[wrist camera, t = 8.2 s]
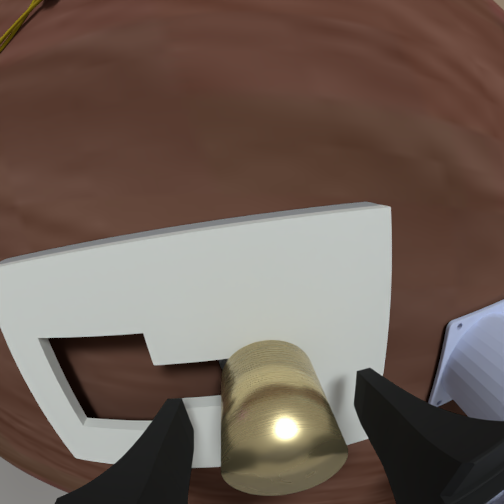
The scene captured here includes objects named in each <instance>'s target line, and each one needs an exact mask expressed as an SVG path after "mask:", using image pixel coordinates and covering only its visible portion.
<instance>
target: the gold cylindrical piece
mask: <svg viewBox="0 0 504 504" xmlns="http://www.w3.org/2000/svg"><path fill="white" fill-rule="evenodd" d="M219 364H220V366H221V368H222V370H223V371H222V378H221V474H222V477H223V479H224V480H225V481H226V482H227V483H228V484H229V485H230V486H232V487H233V488H235V489H237V490H240V491H242V492H246V493H249V494H254V495H265V496H275V495H285V494H291V493H296V492H300V491H303V490H306V489H309V488H312V487H314V486H316V485H318V484H320V483H322V482H324V481H326V480H327V479H329V478H330V477H332V476H333V475H334V474H335V473H336V472H337V471H339V469H340V468H341V467H342V466H343V464H344V463H345V461H346V459H347V456H348V448H347V445H346V443H345V440H344V438H343V435H342V433H341V431H340V428H339V426H338V424H337V421H336V419H335V417H334V414H333V412H332V410H331V407H330V405H329V403H328V400H327V398H326V396H325V393H324V391H323V389H322V386H321V384H320V382H319V379H318V377H317V375H316V372H315V370H314V368H313V365H312V363H311V361H310V359H309V357H308V356H307V354H306V353H305V352H304V351H303V350H302V349H300V348H299V347H298V346H296V345H294V344H291V343H289V342H285V341H280V340H264V341H259V342H254V343H252V344H249V345H247V346H244V347H242V348H241V349H239V350H238V351H236V352H235V353H234V354H233V355H232V356H231V357H230V358H229V359H220V360H219Z"/></svg>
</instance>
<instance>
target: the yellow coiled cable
mask: <svg viewBox="0 0 504 504" xmlns="http://www.w3.org/2000/svg"><path fill="white" fill-rule="evenodd" d="M41 1H42V0H33V1H32V3H31V5H30V6H29V8H28V9H27V10H26V11H25V12H24V13H23V14H22V15H21V17H20V18H19V19H18V20H17V21H16V22H15V23H14V24H13V25H12V26H11V27H10V28H9V30H8V31H7V32H6V33H5V34H4V35H3V36H2V37H1V38H0V44H1V43H2V42H3V41H4V40H5V39H6V37H7V36H8V35H9V34H10V33H11V32H12V33H11V34H10V35H9V37H8V38H7V39H6V41H5V42H4V43H3V45H2V46H1V47H0V52H1V51H2V50H3V49H4V48H5V46H6V45H7V44H8V43H9V41H10V40H11V39H12V37H13V36H14V35H15V33H16V32H17V30H18V29H19V28H20V26H21V25H22V23H23V22H24V20H25V19H26V17H27V16H28V14H29V13H30V12H31V11H32V10H33V9H34V8H35V7H36V6H37V5H38V4H39V3H40V2H41Z"/></svg>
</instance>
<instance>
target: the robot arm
mask: <svg viewBox="0 0 504 504" xmlns="http://www.w3.org/2000/svg"><path fill="white" fill-rule="evenodd" d="M451 400H454V401H455V402H456V403H457V404H458V406H459V407H460V408H461V409H462V410H463V411H464V412H465V414H466V415H467V416H468V417H467V416H463V415H459V414H456V413H452V412H449V411H446V410H444V409H441V408H439V407H438V406H440V405H443V404H445V403H447V402H449V401H451ZM354 408H355V410H356V413H357V416H358V418H359V421H360V424H361V426H362V427H363V429H364V431H365V433H366V435H367V437H368V439H369V440H370V442H371V444H372V446H373V448H374V449H375V451H376V453H377V455H378V457H379V459H380V460H381V463H382V465H383V467H384V469H385V472H386V475H387V477H388V480H389V483H390V485H391V488H392V491H393V494H394V497H395V501H396V504H504V300H501V301H499V302H497V303H494V304H492V305H490V306H487V307H485V308H483V309H480V310H478V311H475V312H473V313H470V314H468V315H465V316H462V317H460V318H457V319H454V320H452V321H450V322H449V323H448V325H447V327H446V332H445V337H444V342H443V347H442V352H441V356H440V361H439V365H438V369H437V373H436V377H435V380H434V384H433V388H432V391H431V394H430V398H429V401H428V403H427V402H425V401H423V400H421V399H419V398H417V397H415V396H413V395H412V394H410V393H408V392H406V391H405V390H403V389H401V388H400V387H398V386H397V385H395V384H394V383H392V382H391V381H389V380H388V379H386V378H385V377H383V376H382V375H380V374H379V373H377V372H376V371H374V370H373V369H371V368H366V369H363V370H359V371H357V374H356V385H355V396H354ZM193 453H194V429H193V426H192V424H191V421H190V419H189V416H188V413H187V411H186V408H185V405H184V403H183V400H182V398H178V399H167V401H166V402H165V403H164V405H163V406H162V408H161V409H160V411H159V412H158V413H157V415H156V416H155V418H154V419H153V421H152V422H151V423H150V425H149V426H148V427H147V429H146V430H145V431H144V433H143V434H142V435H141V436H140V438H139V439H138V440H137V441H136V442H135V443H134V445H133V446H132V447H131V448H130V449H129V450H128V451H127V452H126V453H125V454H124V455H123V456H122V457H121V458H120V459H119V460H118V461H117V462H116V463H115V464H114V465H113V466H111V467H110V468H109V469H107V470H106V471H105V472H104V473H102V474H101V475H100V476H98V477H97V478H95V479H94V480H92V481H91V482H89V483H87V484H86V485H84V486H82V487H80V488H79V489H77V490H75V491H72V492H70V493H68V494H66V495H64V496H61V497H59V498H57V500H56V502H55V504H188V490H189V482H190V475H191V468H192V461H193Z"/></svg>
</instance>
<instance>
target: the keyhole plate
mask: <svg viewBox="0 0 504 504" xmlns="http://www.w3.org/2000/svg"><path fill="white" fill-rule="evenodd" d="M391 272H392V231H391V207H388V206H384V205H379V204H375V203H370V202H358V203H349V204H339V205H330V206H321V207H313V208H304V209H296V210H288V211H280V212H272V213H264V214H257V215H250V216H242V217H235V218H228V219H221V220H214V221H208V222H201V223H194V224H188V225H182V226H175V227H169V228H163V229H157V230H151V231H145V232H139V233H134V234H128V235H122V236H117V237H111V238H106V239H100V240H95V241H90V242H84V243H79V244H74V245H69V246H64V247H59V248H54V249H49V250H45V251H40V252H35V253H30V254H26V255H21V256H17V257H12V258H8V259H5V260H3V261H1V262H0V327H1V330H2V332H3V335H4V337H5V340H6V342H7V344H8V347H9V349H10V351H11V353H12V355H13V358H14V360H15V362H16V364H17V366H18V368H19V370H20V372H21V374H22V376H23V378H24V380H25V381H26V383H27V385H28V387H29V389H30V391H31V392H32V394H33V396H34V398H35V399H36V401H37V403H38V404H39V406H40V408H41V409H42V411H43V412H44V414H45V416H46V417H47V419H48V420H49V422H50V423H51V425H52V426H53V428H54V429H55V431H56V432H57V434H58V435H59V437H60V438H61V439H62V441H63V442H64V443H65V445H66V446H67V448H68V449H69V450H70V451H71V453H72V454H73V455H74V457H75V458H77V459H83V460H89V461H95V462H102V463H109V464H115V463H116V462H117V461H118V460H119V459H120V458H121V457H122V456H123V455H124V454H125V453H126V452H127V451H128V450H129V449H130V448H131V447H132V446H133V445H134V443H135V442H136V441H137V440H138V439H139V438H140V436H141V435H142V434H143V433H144V431H145V430H146V429H147V427H148V426H149V425H150V423H151V422H152V421H138V420H112V419H98V418H87V416H86V415H85V413H84V411H83V409H82V408H81V406H80V404H79V402H78V400H77V399H76V397H75V395H74V393H73V391H72V389H71V387H70V385H69V383H68V382H67V380H66V378H65V375H64V373H63V371H62V369H61V367H60V365H59V363H58V361H57V358H56V356H55V354H54V352H53V349H52V347H51V345H50V342H49V340H48V338H65V337H92V336H110V335H126V334H139V333H143V334H144V337H145V341H146V344H147V347H148V350H149V353H150V356H151V359H152V362H153V364H154V365H166V364H180V363H192V362H202V361H212V360H220V359H229V358H230V357H231V356H232V355H233V354H234V353H235V352H236V351H238V350H239V349H241V348H242V347H244V346H247V345H249V344H252V343H254V342H259V341H264V340H280V341H285V342H289V343H291V344H294V345H296V346H298V347H299V348H300V349H302V350H303V351H304V352H305V353H306V354H307V356H308V357H309V359H310V361H311V363H312V365H313V368H314V370H315V372H316V375H317V377H318V379H319V382H320V384H321V386H322V389H323V391H324V393H325V396H326V398H327V400H328V403H329V405H330V407H331V410H332V412H333V414H334V417H335V419H336V421H337V424H338V426H339V428H340V431H341V433H342V435H343V438H344V440H345V443H346V445H349V444H352V443H356V442H359V441H362V440H366V439H368V437H367V435H366V433H365V431H364V429H363V427H362V426H361V424H360V421H359V418H358V416H357V413H356V410H355V408H354V396H355V385H356V374H357V371H359V370H363V369H366V368H371V369H373V370H374V371H376V372H377V373H379V374H380V375H382V376H383V371H384V364H385V356H386V347H387V338H388V327H389V314H390V298H391ZM177 399H178V398H177ZM182 400H183V403H184V405H185V408H186V411H187V413H188V416H189V419H190V421H191V424H192V426H193V429H194V453H193V461H192V468H205V467H221V395H217V396H206V397H193V398H182Z"/></svg>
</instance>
